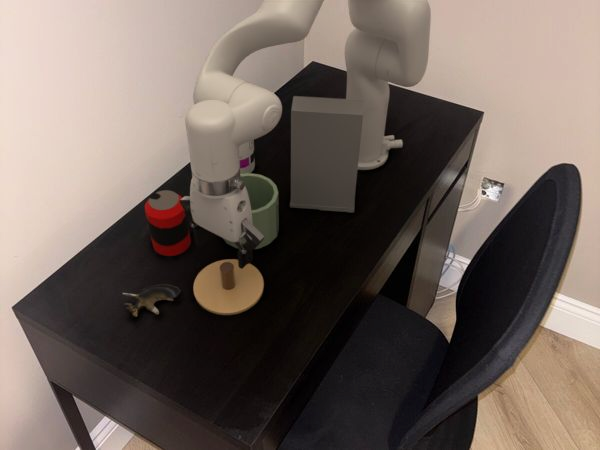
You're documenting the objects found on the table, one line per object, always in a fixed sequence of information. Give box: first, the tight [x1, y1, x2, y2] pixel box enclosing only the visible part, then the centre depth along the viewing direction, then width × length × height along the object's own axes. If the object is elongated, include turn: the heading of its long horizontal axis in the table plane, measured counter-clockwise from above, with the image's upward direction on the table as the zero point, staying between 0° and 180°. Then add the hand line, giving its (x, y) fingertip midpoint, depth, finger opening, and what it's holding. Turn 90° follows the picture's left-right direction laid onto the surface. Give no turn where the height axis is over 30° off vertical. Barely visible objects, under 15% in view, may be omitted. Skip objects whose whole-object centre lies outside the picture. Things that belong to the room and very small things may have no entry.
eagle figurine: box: [122, 284, 182, 318], centre depth 109 cm, size 8×7×9 cm
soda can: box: [144, 189, 192, 257], centre depth 119 cm, size 8×8×12 cm
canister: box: [222, 172, 280, 250], centre depth 122 cm, size 12×12×10 cm
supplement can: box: [239, 139, 256, 174], centre depth 135 cm, size 8×8×15 cm
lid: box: [192, 258, 265, 316], centre depth 112 cm, size 13×13×6 cm
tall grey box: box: [289, 95, 363, 213], centre depth 124 cm, size 14×6×25 cm, turn 85°
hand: (223, 252), depth 107 cm, fingers open, 9 cm apart
